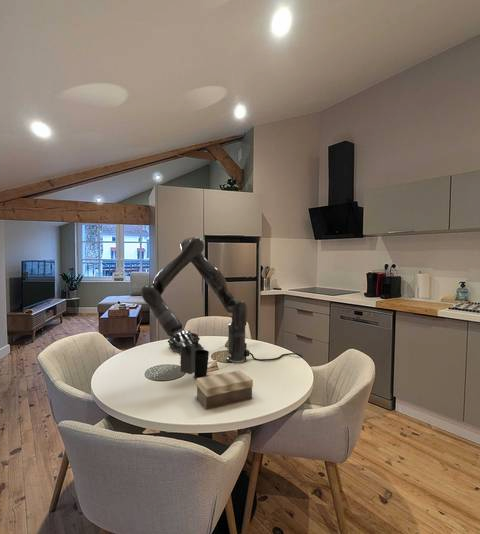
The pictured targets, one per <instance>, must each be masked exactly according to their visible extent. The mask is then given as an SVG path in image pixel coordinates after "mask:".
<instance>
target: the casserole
mask: <svg viewBox="0 0 480 534" xmlns="http://www.w3.org/2000/svg"><path fill="white" fill-rule="evenodd" d="M191 334H192V337H193V340H194V342H193V343H192V344H195V349H196V350H204V347H203V346H202V344H201V343H199V341H200V336H199V334H197V333H194V332H191ZM185 340H186V339H185ZM185 340H184V341H185ZM190 341H191V339H190ZM187 343H188V341H187ZM168 345H169V347H170V349H171V350H172V351H176V352H180V353H181V350H177V349H175V348H174V347H173V346H172V345H171V344H170V343H168ZM176 346H177V344H176ZM177 347H178V346H177Z"/></svg>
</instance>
